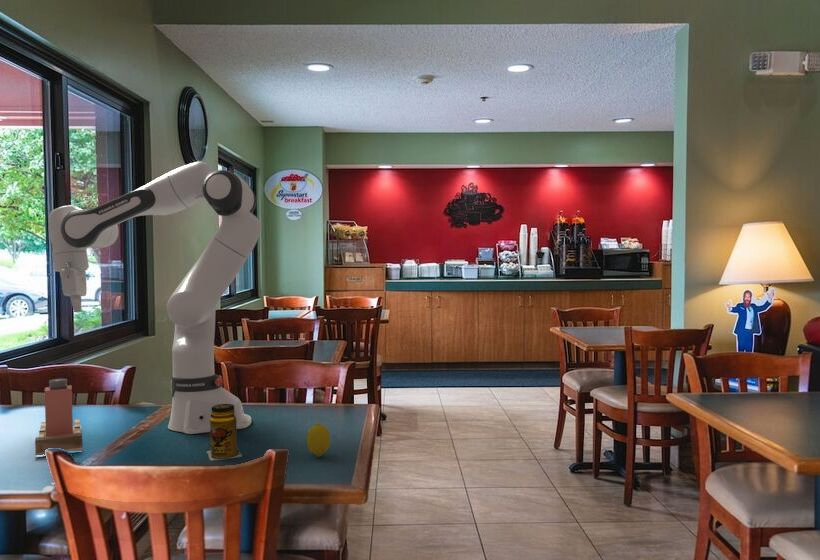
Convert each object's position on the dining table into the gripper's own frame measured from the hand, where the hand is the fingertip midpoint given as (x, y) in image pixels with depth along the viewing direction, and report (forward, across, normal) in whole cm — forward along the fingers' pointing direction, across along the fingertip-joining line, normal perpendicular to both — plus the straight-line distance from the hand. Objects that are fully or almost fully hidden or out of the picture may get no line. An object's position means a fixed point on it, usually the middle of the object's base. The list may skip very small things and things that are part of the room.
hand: (77, 312), depth 193 cm
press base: (+33, -18, +6) cm, 38 cm away
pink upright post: (+32, -19, +6) cm, 37 cm away
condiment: (+40, -43, -32) cm, 67 cm away
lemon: (+42, -53, -53) cm, 86 cm away
